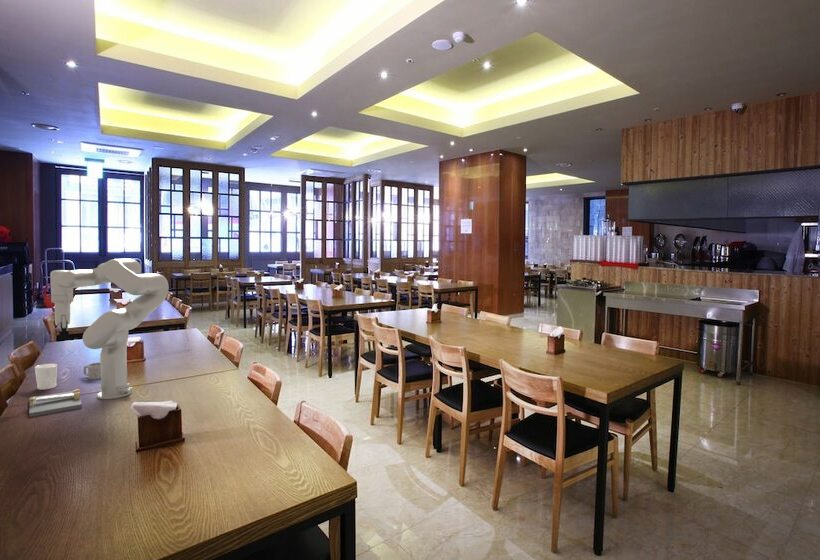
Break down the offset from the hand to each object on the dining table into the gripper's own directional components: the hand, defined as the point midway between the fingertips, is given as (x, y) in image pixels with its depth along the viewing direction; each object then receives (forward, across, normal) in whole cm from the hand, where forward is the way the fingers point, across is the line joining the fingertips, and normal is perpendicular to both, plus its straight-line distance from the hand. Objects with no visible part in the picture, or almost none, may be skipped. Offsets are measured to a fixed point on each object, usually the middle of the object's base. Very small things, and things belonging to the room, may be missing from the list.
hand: (64, 339), depth 196 cm
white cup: (+23, -12, -7) cm, 27 cm away
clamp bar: (+21, +17, -3) cm, 27 cm away
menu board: (+23, +17, -3) cm, 29 cm away
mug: (+23, -18, +11) cm, 32 cm away
